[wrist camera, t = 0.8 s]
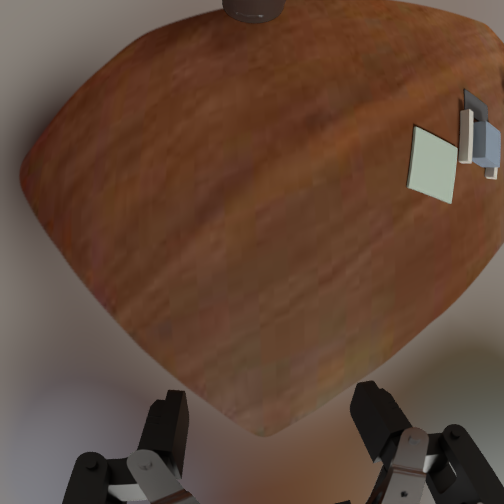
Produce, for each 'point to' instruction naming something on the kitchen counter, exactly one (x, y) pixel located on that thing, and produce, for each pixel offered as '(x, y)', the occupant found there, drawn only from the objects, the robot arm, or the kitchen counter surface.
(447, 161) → the tile
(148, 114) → the kitchen counter surface
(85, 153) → the kitchen counter surface
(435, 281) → the kitchen counter surface
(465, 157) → the channel
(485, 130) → the block
